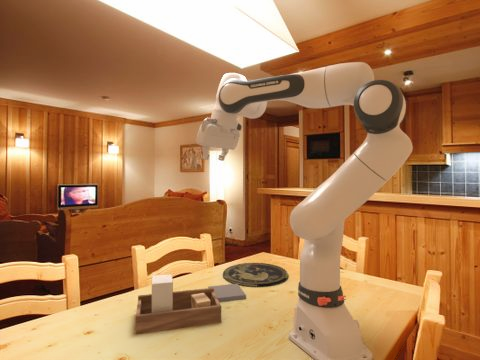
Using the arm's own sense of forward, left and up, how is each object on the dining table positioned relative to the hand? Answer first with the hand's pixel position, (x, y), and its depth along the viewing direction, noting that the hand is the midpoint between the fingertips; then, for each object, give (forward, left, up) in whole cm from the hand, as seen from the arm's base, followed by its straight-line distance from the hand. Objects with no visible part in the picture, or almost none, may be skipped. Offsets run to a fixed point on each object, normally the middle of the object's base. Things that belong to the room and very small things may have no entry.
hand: (213, 159), depth 103 cm
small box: (-8, +18, -51) cm, 55 cm away
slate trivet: (+6, -6, -51) cm, 52 cm away
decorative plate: (+24, -24, -52) cm, 62 cm away
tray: (-8, +13, -51) cm, 53 cm away
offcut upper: (-8, +6, -48) cm, 49 cm away
